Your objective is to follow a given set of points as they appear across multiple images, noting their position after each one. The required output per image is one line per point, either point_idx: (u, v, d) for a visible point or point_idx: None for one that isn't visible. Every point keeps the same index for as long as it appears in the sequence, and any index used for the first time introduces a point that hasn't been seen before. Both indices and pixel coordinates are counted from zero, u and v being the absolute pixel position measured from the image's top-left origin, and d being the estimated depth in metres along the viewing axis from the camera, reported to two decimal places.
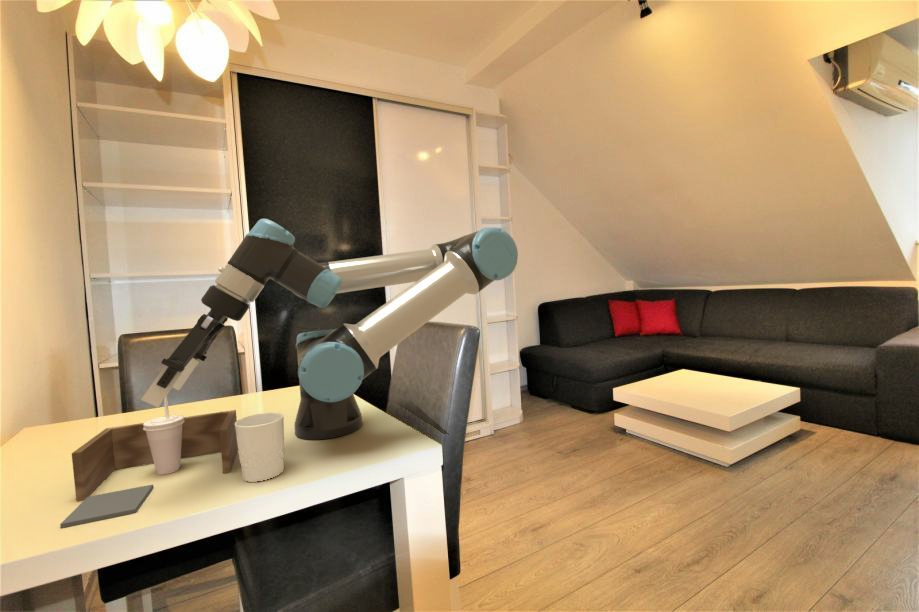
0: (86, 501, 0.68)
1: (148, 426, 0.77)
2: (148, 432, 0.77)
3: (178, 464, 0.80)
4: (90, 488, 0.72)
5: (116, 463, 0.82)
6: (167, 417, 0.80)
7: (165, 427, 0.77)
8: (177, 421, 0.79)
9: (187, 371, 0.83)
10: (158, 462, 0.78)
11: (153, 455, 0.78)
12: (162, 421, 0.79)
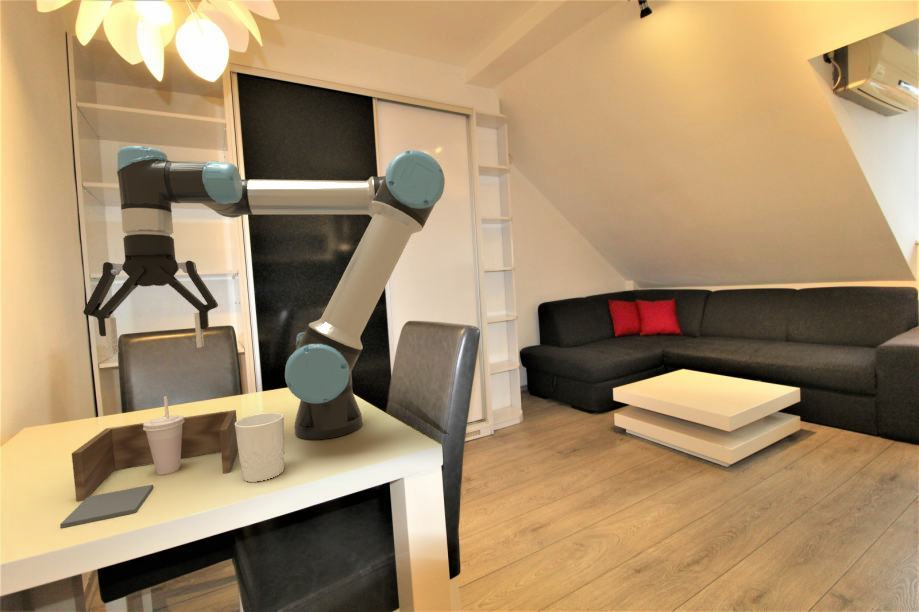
0: (86, 501, 0.68)
1: (148, 426, 0.77)
2: (148, 432, 0.77)
3: (178, 464, 0.80)
4: (90, 488, 0.72)
5: (116, 463, 0.82)
6: (167, 417, 0.80)
7: (165, 427, 0.77)
8: (177, 421, 0.79)
9: None
10: (158, 462, 0.78)
11: (153, 455, 0.78)
12: (162, 421, 0.79)
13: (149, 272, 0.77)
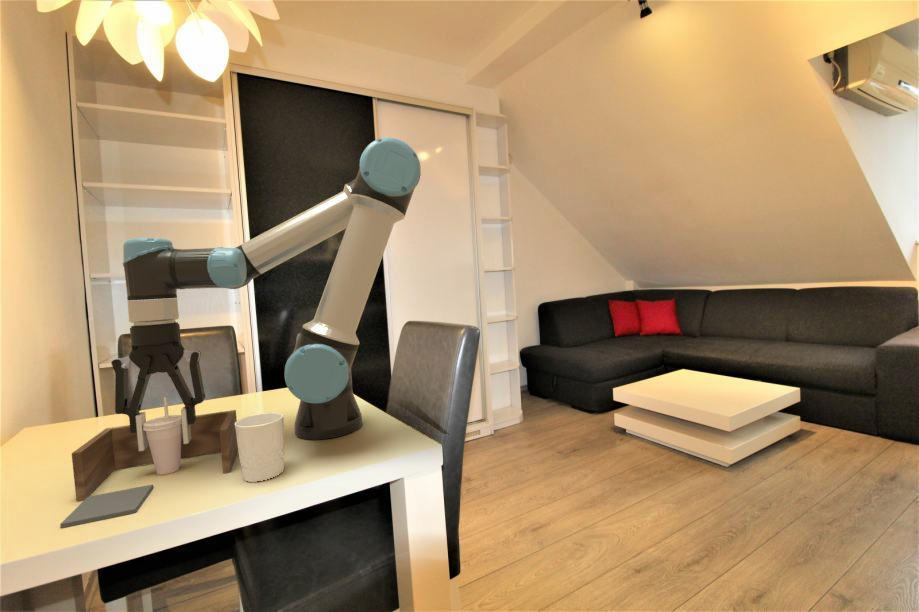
0: (86, 501, 0.68)
1: (148, 426, 0.77)
2: (148, 432, 0.77)
3: (178, 464, 0.80)
4: (90, 488, 0.72)
5: (116, 463, 0.82)
6: (167, 417, 0.80)
7: (165, 427, 0.77)
8: (177, 420, 0.79)
9: None
10: (158, 462, 0.78)
11: (153, 455, 0.78)
12: (162, 421, 0.79)
13: (155, 360, 0.78)
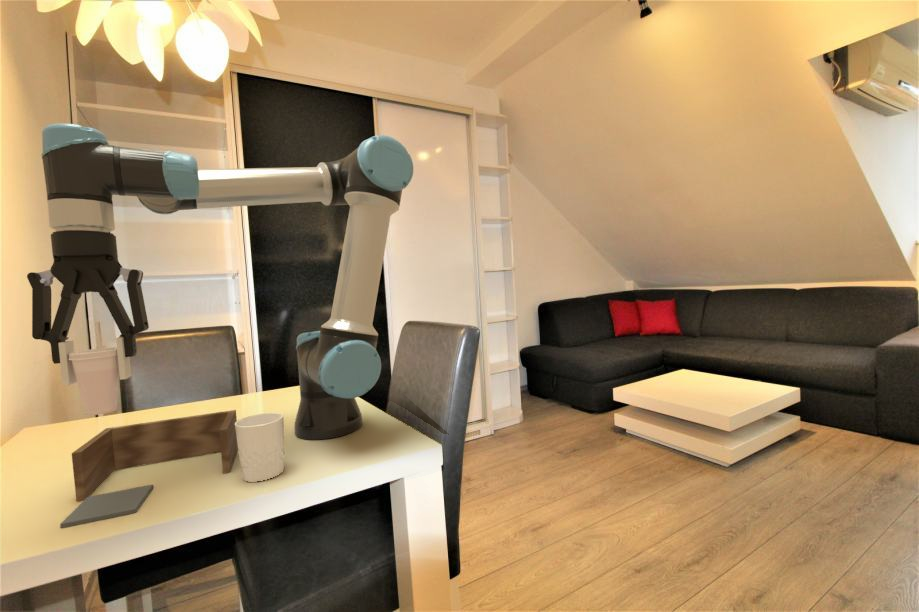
0: (86, 501, 0.68)
1: (73, 355, 0.63)
2: (74, 362, 0.64)
3: (113, 404, 0.67)
4: (90, 488, 0.72)
5: (116, 463, 0.82)
6: (100, 347, 0.66)
7: (94, 356, 0.64)
8: (111, 350, 0.65)
9: None
10: (87, 400, 0.64)
11: (81, 391, 0.64)
12: (92, 351, 0.65)
13: (84, 276, 0.64)
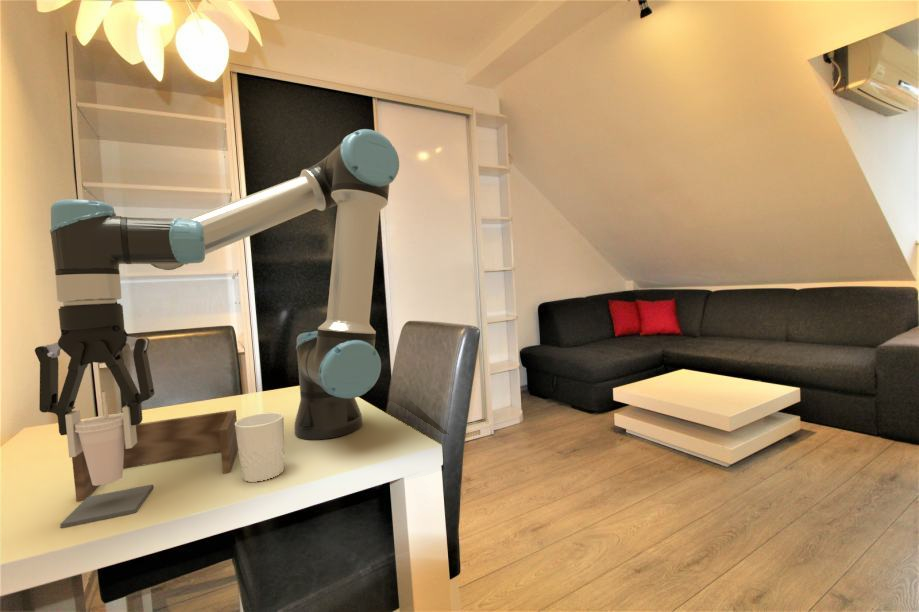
0: (86, 501, 0.68)
1: (80, 427, 0.64)
2: (80, 434, 0.64)
3: (119, 472, 0.67)
4: (90, 488, 0.72)
5: None
6: (106, 416, 0.67)
7: (101, 428, 0.64)
8: (118, 420, 0.66)
9: None
10: (93, 471, 0.65)
11: (87, 462, 0.65)
12: (99, 421, 0.65)
13: (91, 347, 0.65)
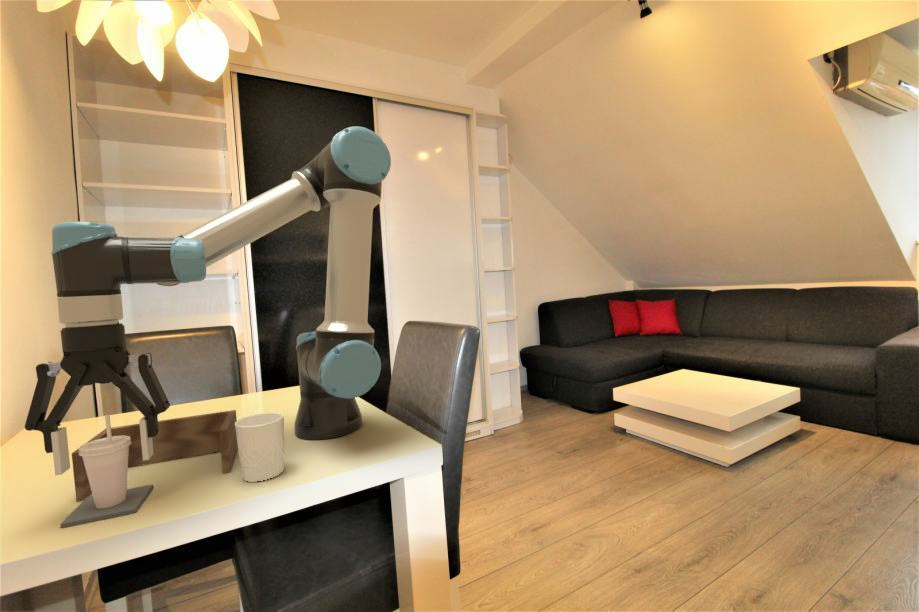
0: (86, 501, 0.68)
1: (84, 451, 0.64)
2: (84, 458, 0.64)
3: (123, 495, 0.67)
4: (90, 488, 0.72)
5: None
6: (109, 439, 0.67)
7: (105, 452, 0.64)
8: (121, 443, 0.66)
9: None
10: (97, 494, 0.65)
11: (91, 485, 0.65)
12: (102, 444, 0.66)
13: (93, 368, 0.65)
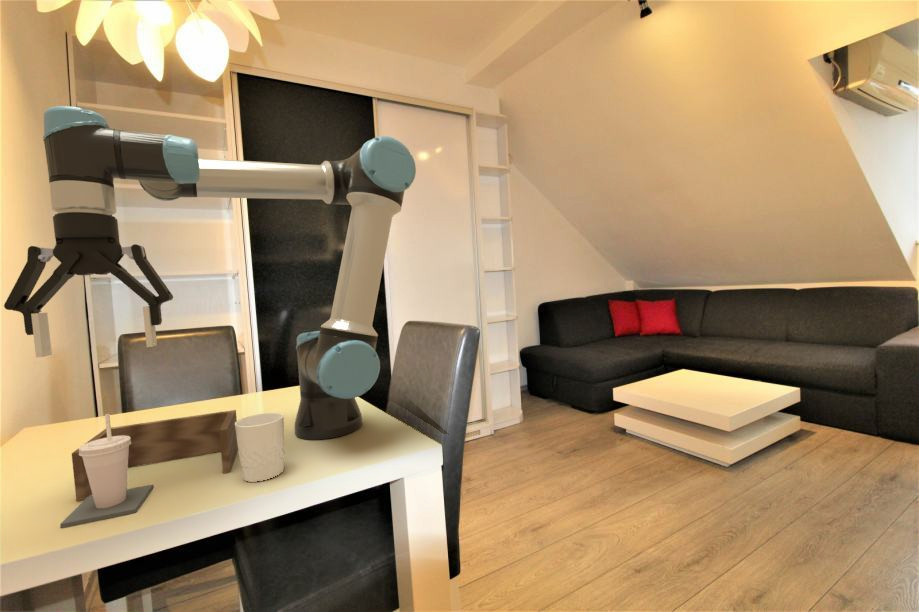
0: (86, 501, 0.68)
1: (83, 451, 0.64)
2: (84, 458, 0.64)
3: (123, 495, 0.67)
4: (90, 488, 0.72)
5: None
6: (109, 439, 0.67)
7: (105, 452, 0.64)
8: (121, 443, 0.66)
9: None
10: (97, 494, 0.65)
11: (91, 485, 0.65)
12: (102, 444, 0.66)
13: (86, 258, 0.65)
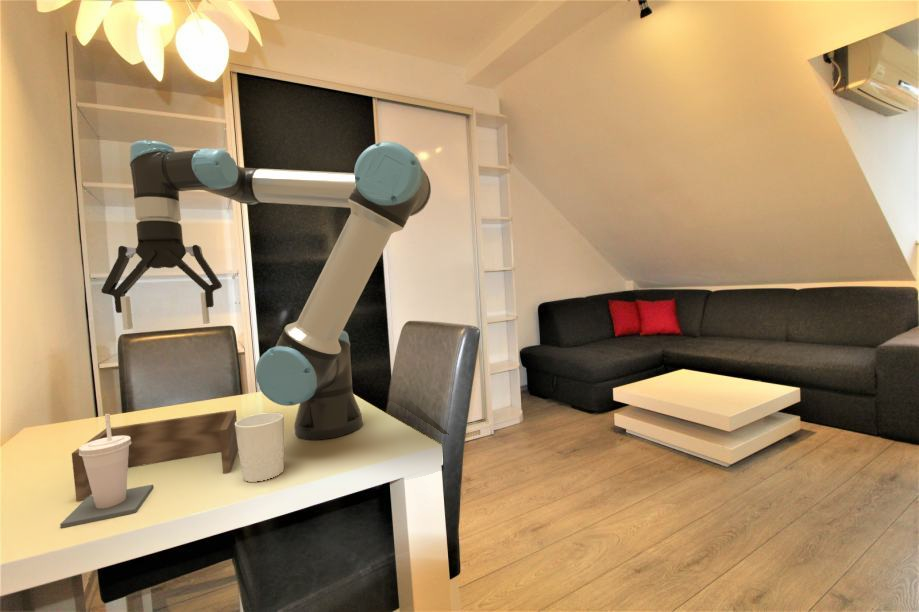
0: (86, 501, 0.68)
1: (84, 451, 0.64)
2: (84, 458, 0.64)
3: (123, 495, 0.67)
4: (90, 488, 0.72)
5: None
6: (109, 439, 0.67)
7: (105, 452, 0.64)
8: (121, 443, 0.66)
9: None
10: (97, 494, 0.65)
11: (91, 485, 0.65)
12: (102, 444, 0.66)
13: (160, 255, 0.85)
